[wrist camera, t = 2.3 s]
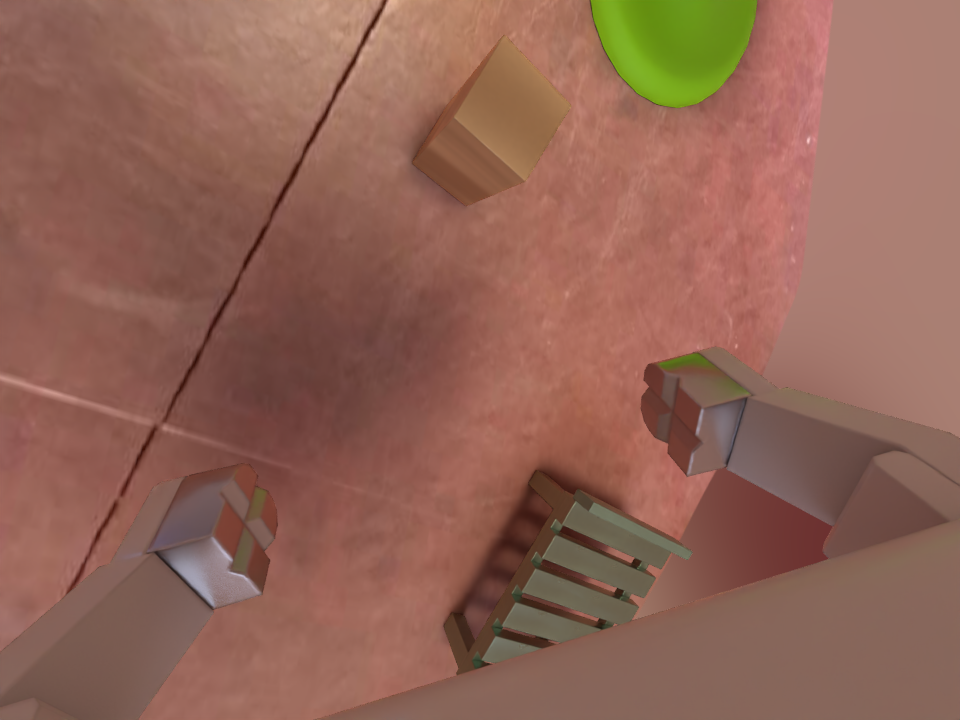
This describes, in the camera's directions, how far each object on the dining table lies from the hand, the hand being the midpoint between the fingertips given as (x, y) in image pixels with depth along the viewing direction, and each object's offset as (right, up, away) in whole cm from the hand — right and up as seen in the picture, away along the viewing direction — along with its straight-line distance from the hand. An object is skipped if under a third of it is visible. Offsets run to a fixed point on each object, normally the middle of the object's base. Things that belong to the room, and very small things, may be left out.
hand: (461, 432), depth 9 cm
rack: (+6, -17, +29) cm, 34 cm away
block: (-1, +15, +19) cm, 25 cm away
